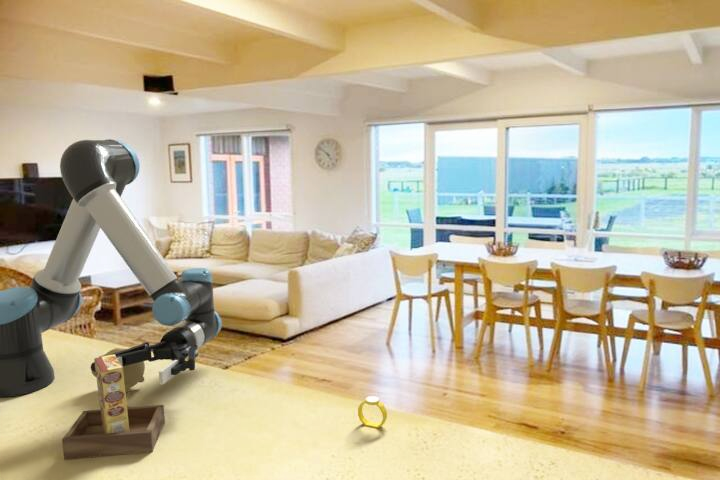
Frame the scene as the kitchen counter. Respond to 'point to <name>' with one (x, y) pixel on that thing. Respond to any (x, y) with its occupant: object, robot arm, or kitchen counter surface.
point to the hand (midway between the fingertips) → (131, 376)
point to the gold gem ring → (372, 401)
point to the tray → (114, 434)
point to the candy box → (111, 394)
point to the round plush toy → (127, 371)
